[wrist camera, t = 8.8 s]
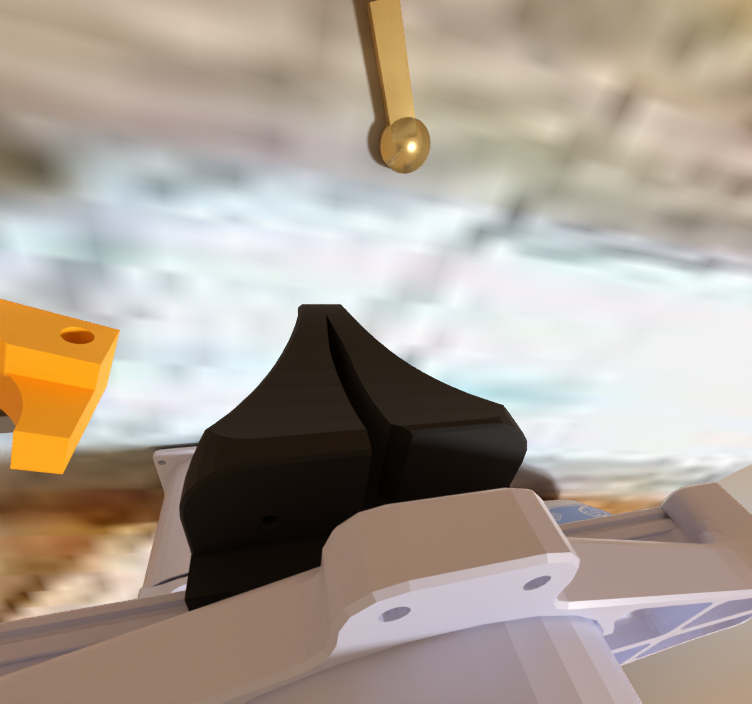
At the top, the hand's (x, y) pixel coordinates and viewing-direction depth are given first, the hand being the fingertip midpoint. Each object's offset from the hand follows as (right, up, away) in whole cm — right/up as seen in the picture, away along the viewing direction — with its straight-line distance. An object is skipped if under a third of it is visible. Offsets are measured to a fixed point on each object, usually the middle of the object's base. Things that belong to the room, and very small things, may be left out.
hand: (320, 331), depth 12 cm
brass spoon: (+2, +12, +5) cm, 13 cm away
